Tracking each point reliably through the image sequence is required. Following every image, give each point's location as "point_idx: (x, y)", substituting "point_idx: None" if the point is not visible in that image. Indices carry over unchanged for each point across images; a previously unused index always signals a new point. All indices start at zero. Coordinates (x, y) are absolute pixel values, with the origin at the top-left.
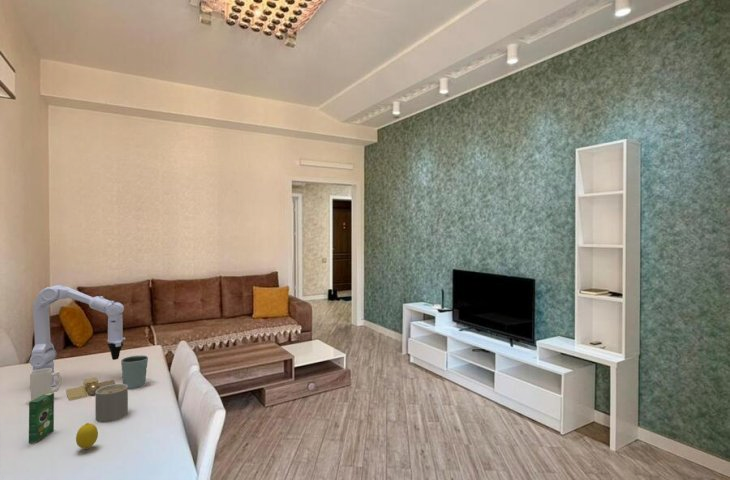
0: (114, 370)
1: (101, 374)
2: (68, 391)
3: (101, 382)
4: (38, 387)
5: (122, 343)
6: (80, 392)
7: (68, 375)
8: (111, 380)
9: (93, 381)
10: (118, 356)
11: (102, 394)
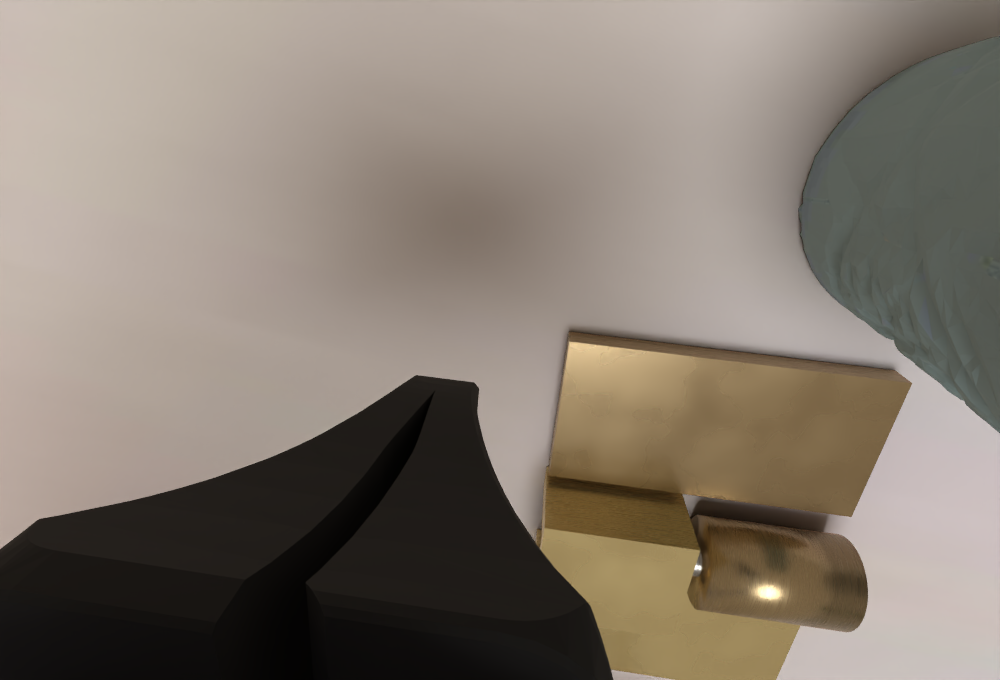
0: (106, 187)
1: (191, 334)
2: None
3: (558, 443)
4: None
5: (345, 619)
6: (700, 619)
7: None
8: (575, 358)
9: (682, 583)
10: (476, 409)
11: None
